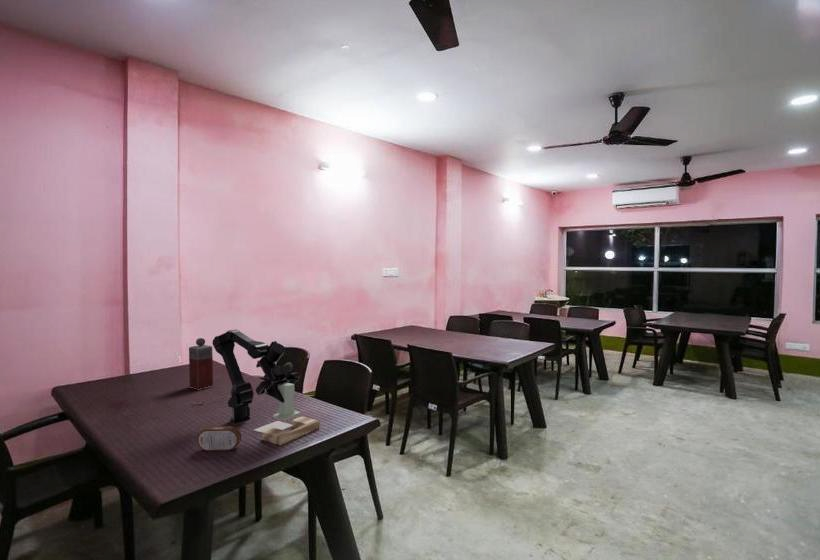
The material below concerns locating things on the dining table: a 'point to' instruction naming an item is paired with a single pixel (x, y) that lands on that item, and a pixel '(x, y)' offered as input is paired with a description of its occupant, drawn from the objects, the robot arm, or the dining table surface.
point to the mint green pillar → (287, 403)
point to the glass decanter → (200, 365)
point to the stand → (301, 428)
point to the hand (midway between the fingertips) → (289, 400)
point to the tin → (219, 438)
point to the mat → (274, 426)
